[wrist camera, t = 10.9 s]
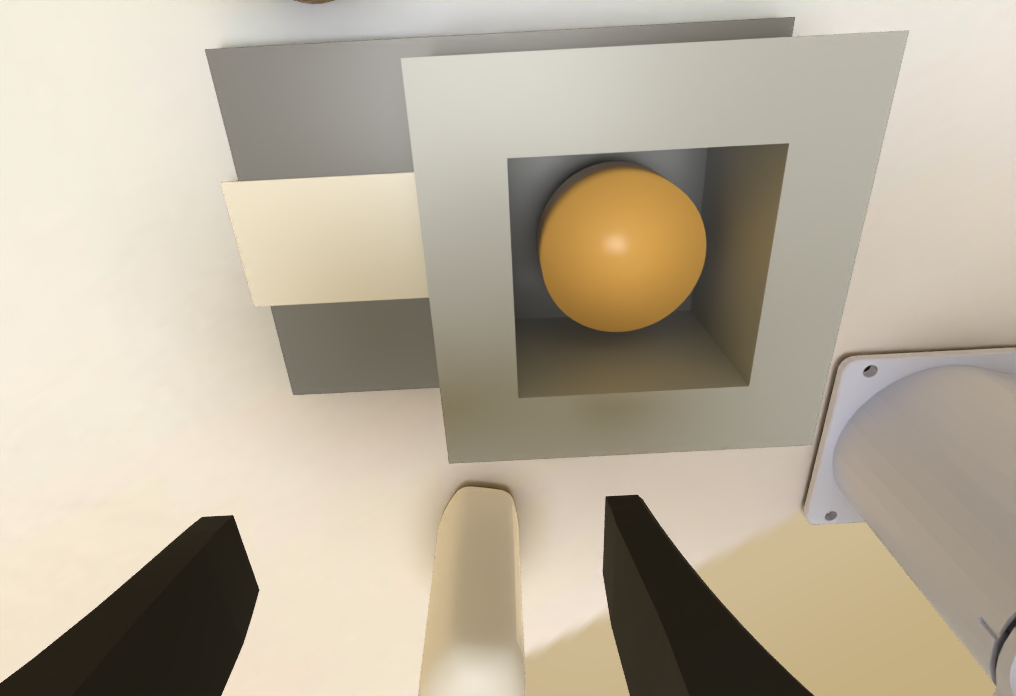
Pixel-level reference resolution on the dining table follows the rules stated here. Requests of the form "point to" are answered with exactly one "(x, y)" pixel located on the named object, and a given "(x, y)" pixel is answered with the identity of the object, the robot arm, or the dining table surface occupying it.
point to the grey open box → (518, 208)
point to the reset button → (620, 246)
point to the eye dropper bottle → (475, 600)
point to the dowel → (314, 1)
